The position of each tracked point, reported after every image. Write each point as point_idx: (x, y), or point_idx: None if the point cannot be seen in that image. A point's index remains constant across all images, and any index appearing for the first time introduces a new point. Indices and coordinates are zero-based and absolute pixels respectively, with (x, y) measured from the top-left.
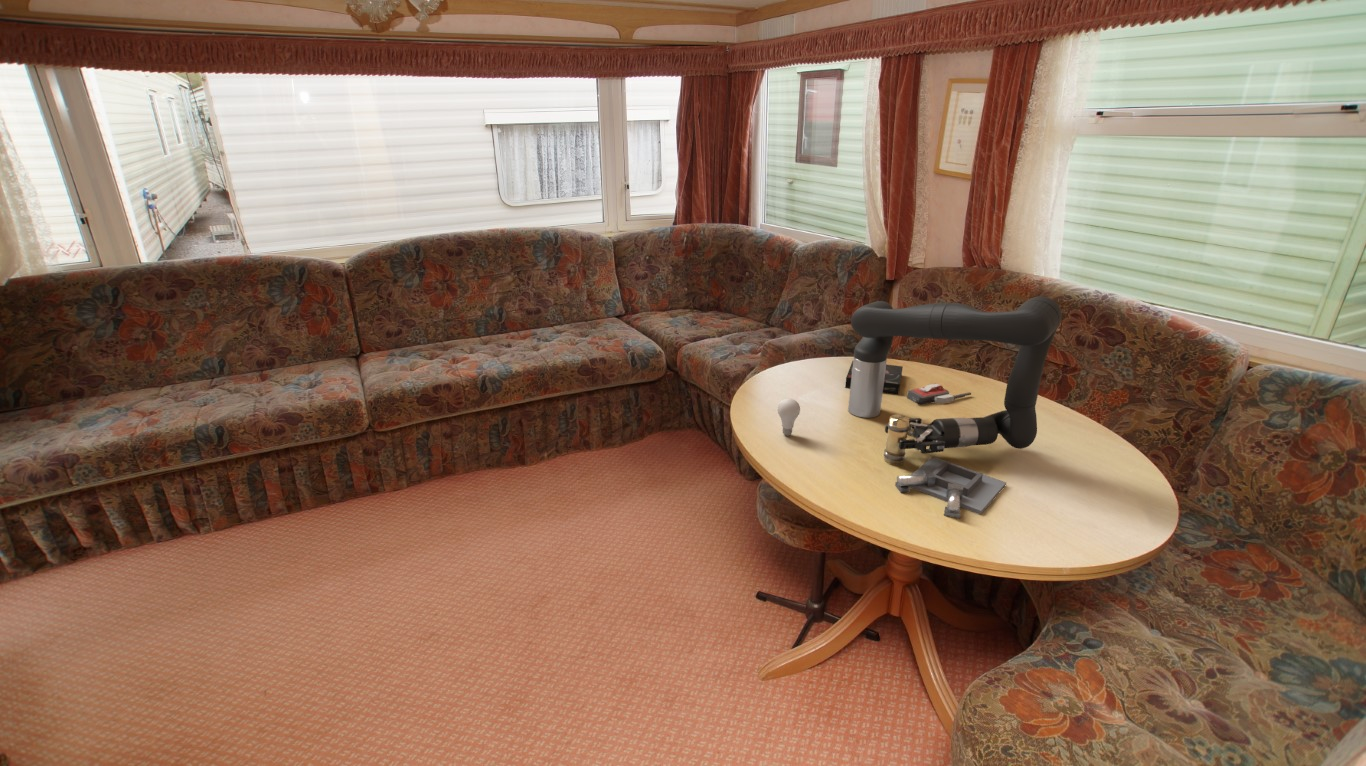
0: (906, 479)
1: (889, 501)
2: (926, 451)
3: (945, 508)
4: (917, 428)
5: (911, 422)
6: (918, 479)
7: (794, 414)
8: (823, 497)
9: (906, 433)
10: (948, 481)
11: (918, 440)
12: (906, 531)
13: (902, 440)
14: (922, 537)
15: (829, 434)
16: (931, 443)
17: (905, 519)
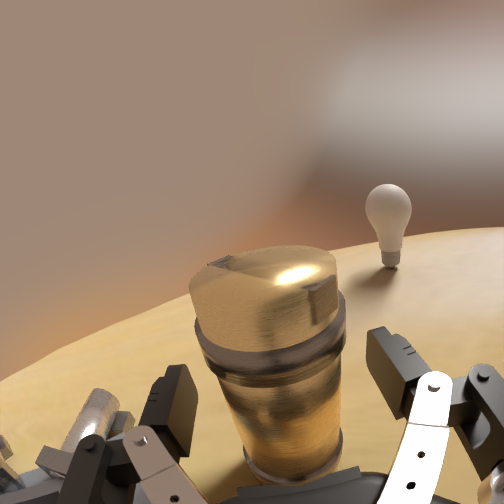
0: (85, 402)
1: (93, 386)
2: (103, 482)
3: (3, 442)
4: (364, 494)
5: (443, 432)
6: (69, 431)
7: (371, 214)
8: (159, 312)
9: (227, 388)
10: (17, 492)
11: (133, 433)
12: (30, 374)
13: (175, 368)
14: (10, 384)
15: (433, 308)
16: (71, 482)
17: (44, 385)
